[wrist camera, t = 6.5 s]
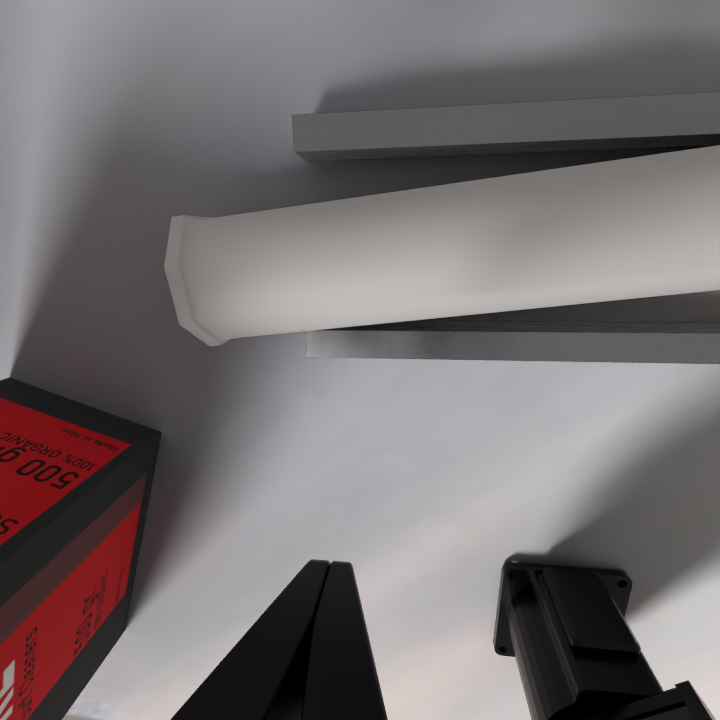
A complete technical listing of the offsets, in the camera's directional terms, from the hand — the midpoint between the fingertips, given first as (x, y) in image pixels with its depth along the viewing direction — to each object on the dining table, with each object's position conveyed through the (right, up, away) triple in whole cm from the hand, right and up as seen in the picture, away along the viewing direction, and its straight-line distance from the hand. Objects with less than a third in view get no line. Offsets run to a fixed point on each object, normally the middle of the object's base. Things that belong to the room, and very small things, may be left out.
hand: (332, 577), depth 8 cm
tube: (+7, +9, +9) cm, 15 cm away
